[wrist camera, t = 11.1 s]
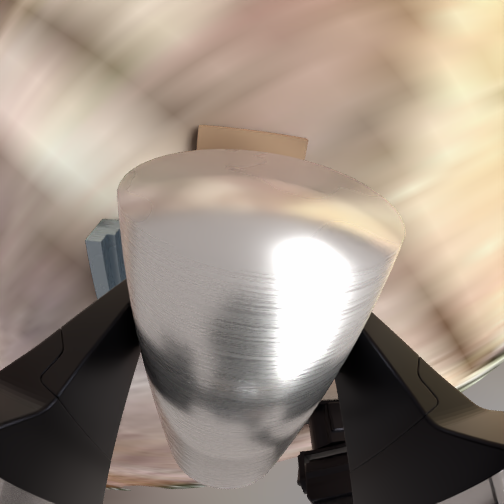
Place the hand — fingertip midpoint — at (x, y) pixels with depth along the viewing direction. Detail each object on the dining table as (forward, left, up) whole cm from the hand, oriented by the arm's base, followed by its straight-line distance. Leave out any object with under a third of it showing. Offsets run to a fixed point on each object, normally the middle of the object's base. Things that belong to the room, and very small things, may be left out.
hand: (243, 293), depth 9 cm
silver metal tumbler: (-3, 0, -2) cm, 3 cm away
